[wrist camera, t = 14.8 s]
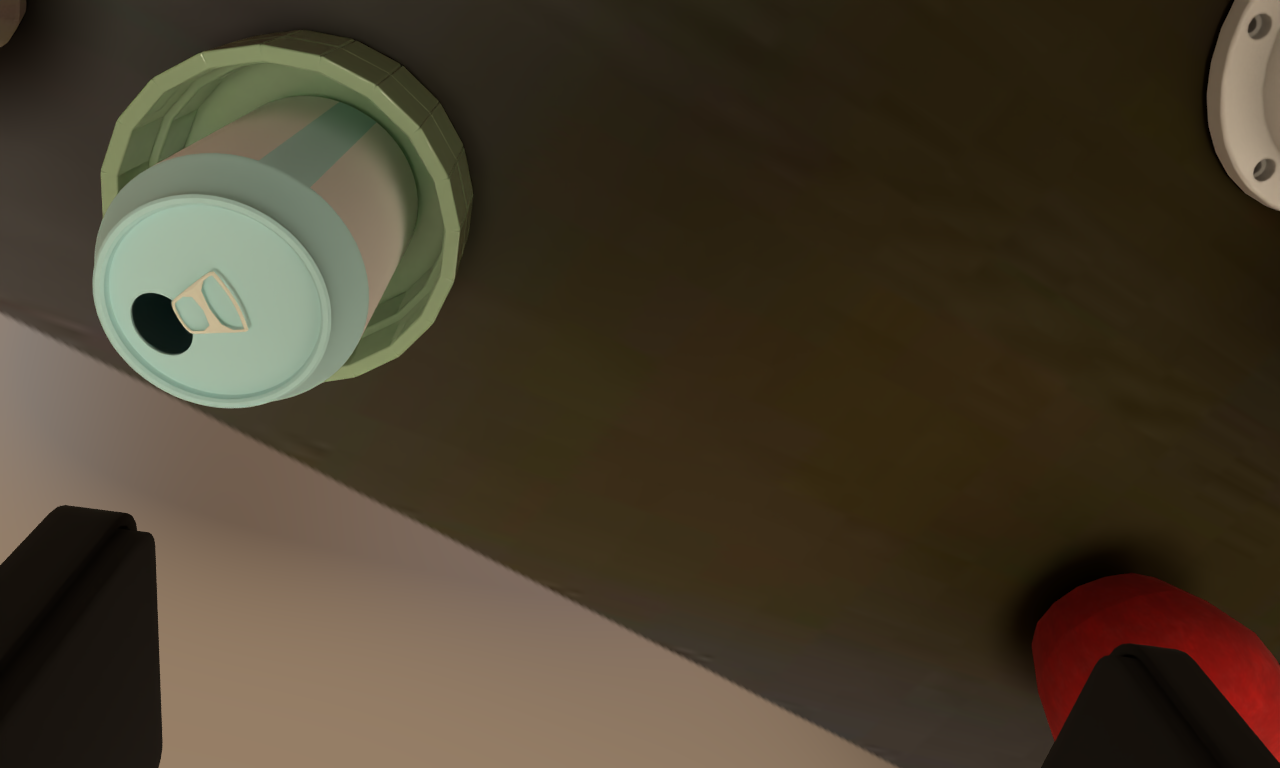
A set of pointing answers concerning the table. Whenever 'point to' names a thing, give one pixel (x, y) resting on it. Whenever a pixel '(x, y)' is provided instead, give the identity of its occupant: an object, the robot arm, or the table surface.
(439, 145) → the green faceted bowl
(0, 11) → the decorative mushroom
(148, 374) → the can
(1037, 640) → the apple
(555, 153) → the table surface
